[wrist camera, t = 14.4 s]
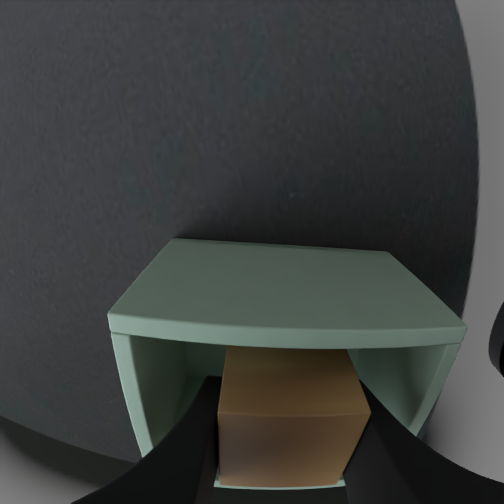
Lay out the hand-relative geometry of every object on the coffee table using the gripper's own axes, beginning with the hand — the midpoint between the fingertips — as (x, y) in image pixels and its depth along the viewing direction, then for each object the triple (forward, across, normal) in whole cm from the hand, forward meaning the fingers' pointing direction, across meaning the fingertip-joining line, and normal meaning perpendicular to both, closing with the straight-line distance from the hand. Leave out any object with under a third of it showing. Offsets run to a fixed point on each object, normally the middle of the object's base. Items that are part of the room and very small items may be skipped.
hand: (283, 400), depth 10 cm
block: (+1, 0, 0) cm, 1 cm away
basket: (+5, 0, +1) cm, 5 cm away
